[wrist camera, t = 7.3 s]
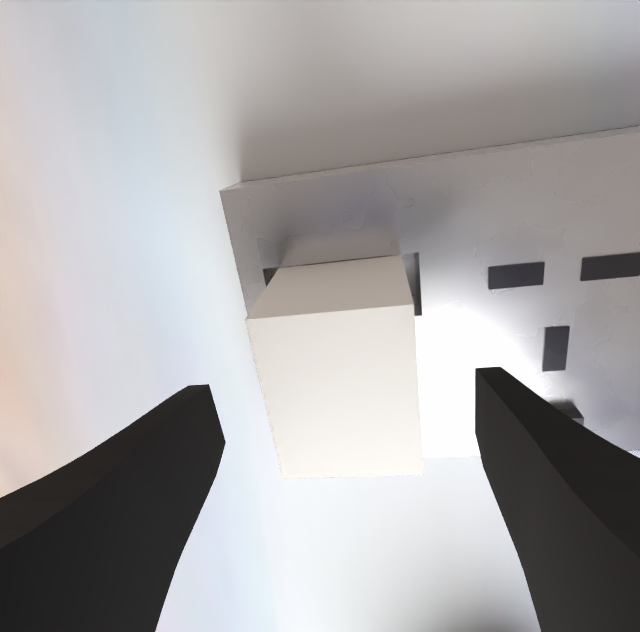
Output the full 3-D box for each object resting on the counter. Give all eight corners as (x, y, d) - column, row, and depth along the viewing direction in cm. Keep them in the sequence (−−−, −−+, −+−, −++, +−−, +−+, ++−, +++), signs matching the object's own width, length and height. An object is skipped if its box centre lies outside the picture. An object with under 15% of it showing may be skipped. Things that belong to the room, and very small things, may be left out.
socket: (660, 122, 14) (731, 121, 11) (612, 411, 19) (655, 461, 16) (240, 182, 17) (213, 193, 14) (290, 426, 21) (278, 471, 18)
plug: (398, 241, 16) (413, 304, 10) (407, 366, 18) (423, 474, 13) (287, 254, 17) (245, 319, 11) (308, 373, 19) (282, 478, 13)
